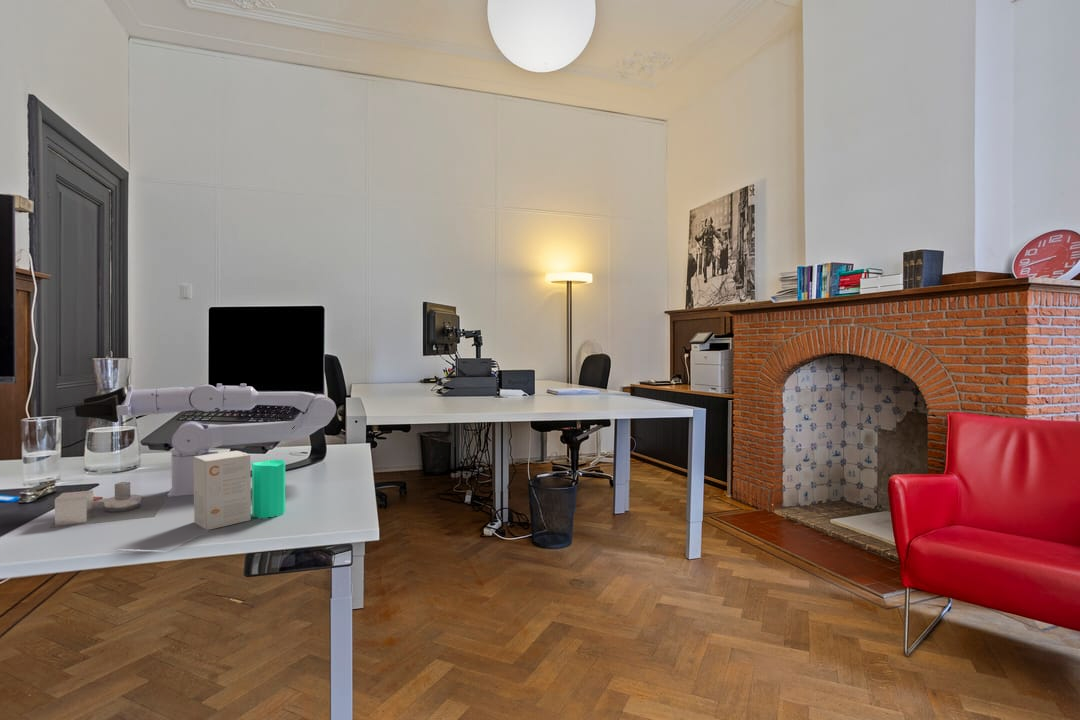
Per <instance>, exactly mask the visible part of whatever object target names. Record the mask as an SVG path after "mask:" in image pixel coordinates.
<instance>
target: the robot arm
mask: <svg viewBox="0 0 1080 720" xmlns="http://www.w3.org/2000/svg"><path fill="white" fill-rule="evenodd" d="M255 406H279V407H283V406H284V407H286V406H287V407H294V408H296V409H297V410H299V411H300V413H299V414H298V415H297V416H296V417H295V418H294V419H293V420H285V421H283V420H282V421H267V422H266V421H265V422H252V423H251V422H249V423H233V424H214V423H210V424H209V423H206V424H205V423H202V422H198V421H195V420H193V421H192V420H191V421H186V422H184V423H182V424H180V426H179V427H178V428H177V430H176V431H175V432H174V434H173V435H172V438H171V444H172V447H173V449H174V450H172V451H171V453H170V454H171V455H170V457H171V487H170V490H169V491H168V493H167V495H166V496H167V498H170V497H179V496H180V497H181V496H191V495H194V465H193V457H194V456H201V455H209V454H216V453H220V452H219V451H210V450H209V449H214V448H217V447H220V446H221V447H222V446H231V445H235V446H236V445H245V444H246V445H247V444H259V443H275V442H287V441H289V442H290V441H300V440H301V441H302V440H304V439H306V438H308V437H309V436H310V435H311V436H312V434H314V433H316V432H317V431H318V430H320V429H322V428H324V427H326V426H328V425H329V424H330V422H331V421H332V420H333V418H334V417H335V416H336V413H337V406H336V403H335V401H334V400H332V399H331V398H330V397H328V396H326V395H325V394H323V393H313V392H309V391H307V392H306V391H257V390H256V389H255V388H254V387H253V386H249V385H248V386H247V383H240V384H239V385H223V383H216V386H214V385H211V384H206V383H202V384H199V385H197V386H196V387H195V386H186V387H182V386H174V387H173V386H172V387H159V388H145V389H144V388H143V389H134V386H133V384H129V385H127V391H126V389H125V387H124V386H122V387H120V388H118V389H115V390H113V391H110V392H109V391H108V392H106V393H103V394H99V395H98V394H97V395H94V396H89V397H86V398H83V404H78V405H75V406H74V411H75V412H74V413H75V417H79V418H91V419H98V420H99V419H100V420H105V421H108V422H111V423H118V422H119V416H127V417H129V418H135V417H138V416H139V417H140V416H148V415H149V416H151V415H160V414H161V415H163V414H171V413H172V414H174V413H183V412H185V411H186V412H187V411H195V410H198V411H199V412H200V411H201V412H206V413H209V412H212V411H213V410H215V409H218V410H220V411H250V410H253V409H254V408H255ZM294 426H295V427H294ZM293 427H294V428H293ZM292 428H293V429H292Z"/></svg>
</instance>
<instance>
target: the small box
mask: <svg viewBox="0 0 1080 720" xmlns="http://www.w3.org/2000/svg"><path fill="white" fill-rule="evenodd" d="M193 465H194V494H193V515H194V516H193V518H194V521H193V523H195V524H196V525H198V526H200V528H203V529H204V530H207V531H211V530H214V529H218V528H219V529H220V528H223V527H228V526H231V525H235V524H240V523H244V522H248V521H252V520H251V519H252V518H251V517H252V516H251V515H252V479H251V454H249V453H246V452H244V451H240V450H231V451H230V450H229V451H224V452H219V453H216V454H209V455H201V456H194V457H193Z"/></svg>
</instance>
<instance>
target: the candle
mask: <svg viewBox="0 0 1080 720" xmlns="http://www.w3.org/2000/svg"><path fill="white" fill-rule="evenodd" d="M251 470H252V471H251V515H253V516H254V517H259V518H258V519H260V518H263V519H269V518H268V517H273V518H275V517H274V516H278V517H280V516H282V515H281V514H283V515H284V514H285V513H286V461H284V459H270V455H269V454H268V458H267V460H263V461H257V462H252V463H251ZM284 512H285V513H284ZM279 515H280V516H279ZM253 516H252V517H253ZM254 517H253V518H254Z"/></svg>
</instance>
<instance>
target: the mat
mask: <svg viewBox="0 0 1080 720" xmlns="http://www.w3.org/2000/svg"><path fill="white" fill-rule="evenodd" d="M167 498H168V497H167V495H158V496H149V497H141V507H140V508H138V509H135V510H131V511H126V512H119V513H107V512H104V509H93V517H92V518H91V519H90V520H89V521H88V522H87V523H80V524H70V525H61V526H55V522H54V523H53V524H51V525H50V526H49V527H48V529H54V528H62V527H71V526H82V525H89V524H100V523H107V522H108V523H109V522H117V521H119V522H121V521H127V520H135V519H136V520H137V519H145V518H146V519H147V518H155V516H157V514H158V512H159V510H160V508H161V507H162V506H163V504H164V502H165V501H166V500H167Z"/></svg>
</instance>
